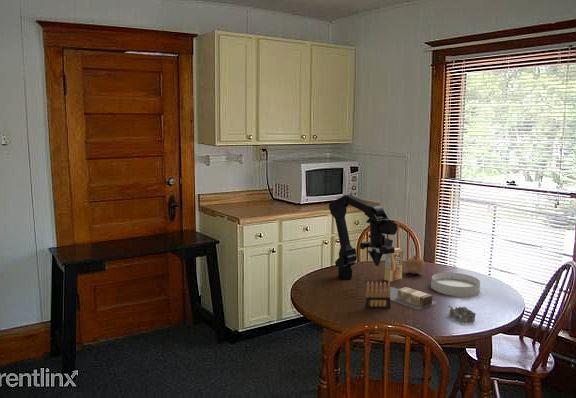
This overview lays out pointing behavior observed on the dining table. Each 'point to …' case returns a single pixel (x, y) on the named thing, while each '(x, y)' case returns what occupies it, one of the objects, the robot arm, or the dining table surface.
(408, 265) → the onion
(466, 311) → the dark green lumpy clump
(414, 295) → the birch block
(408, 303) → the rubber mat
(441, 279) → the dish
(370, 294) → the ammunition clip
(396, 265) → the candy box
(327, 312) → the dining table surface
